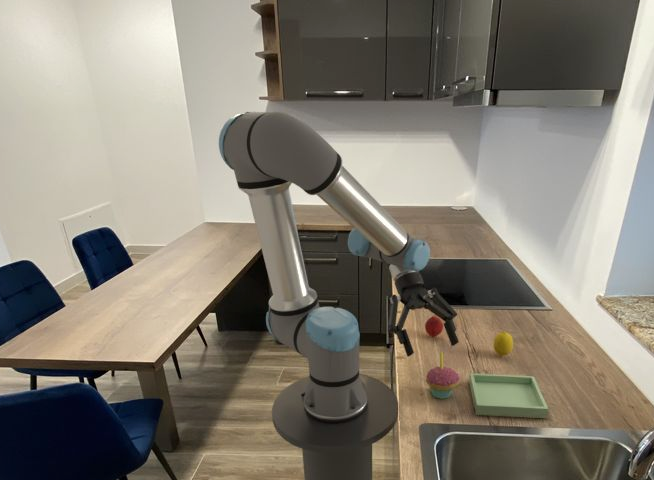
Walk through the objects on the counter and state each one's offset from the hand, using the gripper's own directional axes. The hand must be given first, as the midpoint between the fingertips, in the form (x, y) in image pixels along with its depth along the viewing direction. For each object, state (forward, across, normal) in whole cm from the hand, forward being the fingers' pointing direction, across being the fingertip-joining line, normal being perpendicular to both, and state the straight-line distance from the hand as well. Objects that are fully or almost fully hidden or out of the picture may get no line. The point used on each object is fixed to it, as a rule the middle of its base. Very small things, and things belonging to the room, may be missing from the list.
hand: (433, 349), depth 115 cm
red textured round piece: (-9, +16, +24) cm, 30 cm away
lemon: (+5, +27, +10) cm, 30 cm away
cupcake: (+11, 0, +4) cm, 12 cm away
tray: (+18, +13, -3) cm, 22 cm away
